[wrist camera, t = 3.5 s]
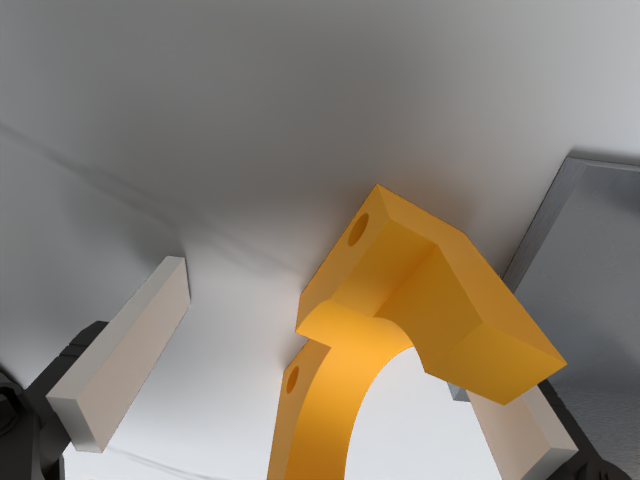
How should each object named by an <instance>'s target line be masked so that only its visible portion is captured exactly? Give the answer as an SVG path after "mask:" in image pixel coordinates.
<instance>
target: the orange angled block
mask: <svg viewBox="0 0 640 480" xmlns="http://www.w3.org/2000/svg"><path fill="white" fill-rule="evenodd" d="M295 332H296V333H298V334H300V335H303V336H305V337H308V338H310V339H309V340H308V342H307V343H306V344H305V345H304V347H303V348H302V349H301V351H300V352H299V353H298V354H297V356H296V357H295V358H294V360H293V361H292V362H291V363H290V365H289V366H288V367H287V369H286V370H285V371H284V373H283V379H282V385H281V392H280V398H279V404H278V411H277V417H276V423H275V430H274V436H273V442H272V449H271V455H270V461H269V467H268V474H267V480H344V474H345V465H346V458H347V452H348V446H349V442H350V437H351V433H352V429H353V426H354V422H355V419H356V416H357V413H358V411H359V408H360V405H361V403H362V401H363V398H364V396H365V394H366V392H367V390H368V389H369V387H370V385H371V383H372V382H373V380H374V378H375V377H376V376H377V374H378V373H379V372H380V370H381V369H382V368H383V367H384V366H385V365H386V364H387V363H388V362H389V361H390V360H391V359H392V358H393V357H394V356H396V355H397V354H398V353H400V352H402V351H403V350H405V349H407V348H410V347H412V346H414V347H415V349H416V351H417V353H418V355H419V357H420V360H421V362H422V365H423V368H424V371H425V373H428V374H430V375H433V376H435V377H437V378H440V379H442V380H444V381H447V382H449V383H451V384H454V385H456V386H458V387H461V388H463V389H466V390H468V391H470V392H473V393H475V394H477V395H480V396H482V397H484V398H487V399H489V400H492V401H494V402H496V403H499V404H501V405H503V406H505V405H506V404H508V403H509V402H511V401H513V400H514V399H516V398H517V397H519V396H520V395H522V394H523V393H525V392H526V391H528V390H529V389H531V388H532V387H534V386H535V385H537V384H538V383H540V382H541V381H543V380H544V379H546V378H547V377H549V376H550V375H552V374H554V373H555V372H557V371H558V370H560V369H561V368H563V367H564V366H566V365H567V362H566V361H565V360H564V359H563V357H562V356H561V355H560V353H559V352H558V351H557V350H556V348H555V347H554V346H553V345H552V343H551V342H550V341H549V340H548V338H547V337H546V336H545V334H544V333H543V332H542V331H541V329H540V328H539V327H538V326H537V324H536V323H535V322H534V320H533V319H532V318H531V317H530V315H529V314H528V313H527V312H526V310H525V309H524V308H523V307H522V305H521V304H520V303H519V301H518V300H517V299H516V298H515V296H514V295H513V294H512V293H511V291H510V290H509V289H508V287H507V286H506V285H505V284H504V282H503V281H502V280H501V279H500V277H499V276H498V275H497V274H496V272H495V271H494V270H493V268H492V267H491V266H490V265H489V263H488V262H487V261H486V260H485V258H484V257H483V256H482V254H481V253H480V252H479V251H478V249H477V248H476V247H475V246H474V244H473V243H472V242H471V241H470V239H469V238H468V237H467V235H466V234H465V233H464V232H462V231H460V230H458V229H457V228H455V227H453V226H451V225H450V224H448V223H446V222H444V221H442V220H441V219H439V218H437V217H435V216H434V215H432V214H430V213H428V212H427V211H425V210H423V209H421V208H420V207H418V206H416V205H414V204H412V203H411V202H409V201H407V200H405V199H404V198H402V197H400V196H398V195H397V194H395V193H393V192H391V191H390V190H388V189H386V188H384V187H383V186H381V185H379V184H376V185H375V187H374V188H373V190H372V191H371V193H370V194H369V196H368V197H367V199H366V200H365V201H364V203H363V204H362V206H361V207H360V209H359V210H358V212H357V213H356V215H355V216H354V218H353V219H352V221H351V222H350V224H349V225H348V226H347V228H346V229H345V231H344V232H343V234H342V235H341V237H340V238H339V240H338V241H337V243H336V244H335V246H334V247H333V249H332V250H331V251H330V253H329V254H328V256H327V257H326V259H325V260H324V262H323V263H322V265H321V266H320V268H319V269H318V271H317V272H316V273H315V275H314V276H313V278H312V279H311V281H310V282H309V284H308V285H307V287H306V288H305V290H304V291H303V293H302V294H301V296H300V300H299V308H298V315H297V322H296V329H295Z"/></svg>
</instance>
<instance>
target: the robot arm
mask: <svg viewBox="0 0 640 480" xmlns="http://www.w3.org/2000/svg"><path fill="white" fill-rule="evenodd" d="M189 306H190V296H189V288H188V281H187V273H186V266H185V258H183V257H174V256H167V257H166V258H165V259H164V260H163V261H162V262H161V264H160V265H159V266H158V267H157V268H156V269H155V270H154V272H153V273H152V274H151V275H150V276H149V277H148V279H147V280H146V281H145V282H144V283H143V284H142V285H141V287H140V288H139V289H138V290H137V291H136V292H135V294H134V295H133V296H132V297H131V298H130V299H129V301H128V302H127V303H126V304H125V305H124V306H123V307H122V309H121V310H120V311H119V312H118V313H117V314H116V316H115V317H114V318H113V319H112V320H111V321H110V322H104V321H96V322H94V323H93V324H91V325H90V326H88V327H87V328H85V329H83V330H82V331H81V332H80V333H79V334H78V335H77V336H76V337H75V338H74V339H73V340H72V341H71V342H70V343H69V346H67V347H66V348H65V349H64V350H63V351H62V352H61V353H60V355H59V357H56V358H55V359H54V360H53V361H52V362H51V363H50V365H49V366H48V367H47V368H46V369H45V370H44V371H43V372H42V373H41V374H40V375H39V376H38V377H37V378H36V379H35V380H34V381H33V383H32V384H31V385H30V386H29V387H28V388H27V389H26V390H25V391H23V389H22V388H21V386H19V385H17V384H16V383H14V382H11V381H10V380H9V379H8V378H7V377H6V376H5V375H4V374H2V373H1V372H0V480H65V470H64V458H63V455H62V453H63V451H64V450H65V449H66V447H67V446H68V444H69V443H70V441H71V442H72V444H73V446H74V447H75V449H76V451H84V452H94V453H102V452H103V451H104V449H105V447H106V446H107V444H108V442H109V441H110V439H111V437H112V436H113V434H114V432H115V431H116V429H117V427H118V425H119V424H120V422H121V420H122V419H123V417H124V415H125V414H126V412H127V410H128V409H129V407H130V405H131V404H132V402H133V400H134V398H135V397H136V395H137V393H138V392H139V390H140V388H141V387H142V385H143V383H144V382H145V380H146V378H147V377H148V375H149V373H150V372H151V370H152V368H153V366H154V365H155V363H156V361H157V360H158V358H159V356H160V355H161V353H162V351H163V350H164V348H165V346H166V345H167V343H168V341H169V339H170V338H171V336H172V334H173V333H174V331H175V329H176V328H177V326H178V324H179V323H180V321H181V319H182V318H183V316H184V314H185V312H186V311H187V309H188V307H189ZM465 390H466V389H465ZM466 392H467V395H468V397H469V399H470V402H471V404H472V407H473V409H474V412H475V414H476V417H477V419H478V421H479V424H480V426H481V429H482V431H483V434H484V436H485V438H486V441H487V443H488V446H489V448H490V451H491V453H492V455H493V458H494V460H495V463H496V465H497V468H498V470H499V473H500V475H501V477H502V480H632V479H631V478H630V477H629V475H628V474H627V473H625V472H624V471H623V470H621V469H620V468H619V467H617V466H616V465H614V464H612V463H610V462H608V461H606V460H603V459H602V458H601V456H600V455H599V454H598V452H597V451H596V449H595V448H594V446H593V445H592V443H591V442H590V441H589V439H588V438H587V436H586V435H585V433H584V432H583V430H582V429H581V427H580V426H579V425H578V423H577V422H576V420H575V419H574V417H573V416H572V414H571V413H570V411H569V410H568V409H566V406H565V404H564V403H563V401H562V400H561V398H560V397H558V394H557V392H556V391H555V390H554V388H553V387H552V385H551V384H550V382H549V381H548V380H547V379H544V380H543V381H541V382H540V383H538V384H537V385H535V386H534V387H532V388H531V389H529V390H528V391H526V392H525V393H523V394H522V395H520V396H519V397H517V398H516V399H514V400H513V401H511V402H509V403H508V404H506V405H505V406H503V405H501V404H499V403H496V402H494V401H492V400H489V399H487V398H484V397H482V396H480V395H477V394H475V393H473V392H470V391H468V390H466Z"/></svg>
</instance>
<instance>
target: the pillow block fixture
mask: <svg viewBox="0 0 640 480" xmlns="http://www.w3.org/2000/svg"><path fill="white" fill-rule="evenodd" d="M502 281H503V282H504V284H505V285H506V286H507V287H508V289H509V290H510V291H511V293H512V294H513V295H514V296H515V298H516V299H517V300H518V301H519V303H520V304H521V305H522V307H523V308H524V309H525V310H526V312H527V313H528V314H529V315H530V317H531V318H532V319H533V320H534V322H535V323H536V324H537V326H538V327H539V328H540V329H541V331H542V332H543V333H544V334H545V336H546V337H547V338H548V340H549V341H550V342H551V343H552V345H553V346H554V347H555V348H556V350H557V351H558V352H559V353H560V355H561V356H562V357H563V359H564V360H565V361H566V362H567V365H566V366H564V367H563V368H561V369H560V370H558V371H557V372H555V373H554V374H552V375H550V376H549V377H547V378H546V379H547V380H548V381H549V382H550V384H551V385H552V387H553V388H554V390H555V391H556V392H557V394H558V397H560V398H561V400H562V401H563V403H564V404H565V406H566V409H568V410H569V411H570V413H571V414H572V416H573V417H574V419H575V420H576V422H577V423H578V425H579V426H580V427H581V429H582V430H583V432H584V433H585V435H586V436H587V438H588V439H589V441H590V442H591V443H592V445H593V446H594V448H595V449H596V451H597V452H598V454H599V455H600V456H601V458H602V459H603V460H606V461H608V462H610V463H612V464H614V465H616V466H617V467H619V468H620V469H621V470H623V471H624V472H625V473H627V474H628V475H629V477H630V478H631V479H632V480H640V166H633V165H626V164H618V163H610V162H602V161H594V160H587V159H579V158H571V157H566V159H565V161H564V163H563V165H562V167H561V169H560V171H559V173H558V175H557V176H556V178H555V180H554V182H553V184H552V186H551V188H550V190H549V192H548V193H547V195H546V197H545V199H544V201H543V203H542V205H541V207H540V209H539V211H538V212H537V214H536V216H535V218H534V220H533V222H532V224H531V226H530V228H529V230H528V231H527V233H526V235H525V237H524V239H523V241H522V243H521V245H520V247H519V249H518V250H517V252H516V254H515V256H514V258H513V260H512V262H511V264H510V266H509V267H508V269H507V271H506V273H505V275H504V277H503V279H502ZM447 384H448V387H449V389H450V392H451V395H452V398H453V400H456V401H465V402H470V399H469V397H468V395H467V392H466V390H465V389H463V388H461V387H458V386H456V385H454V384H451V383H449V382H448V383H447Z"/></svg>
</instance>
